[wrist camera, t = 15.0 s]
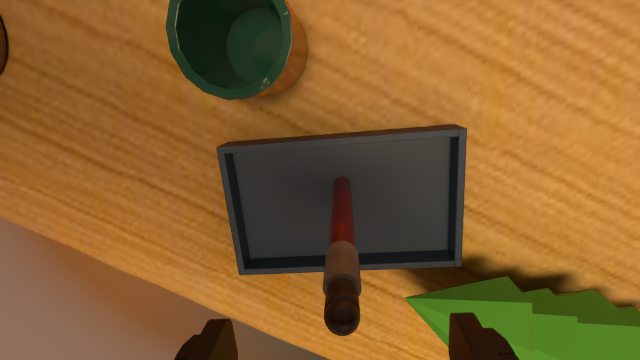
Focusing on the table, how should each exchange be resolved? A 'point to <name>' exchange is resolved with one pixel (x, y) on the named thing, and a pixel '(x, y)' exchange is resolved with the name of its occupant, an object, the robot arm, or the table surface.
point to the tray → (366, 190)
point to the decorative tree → (539, 320)
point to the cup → (237, 45)
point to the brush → (342, 265)
